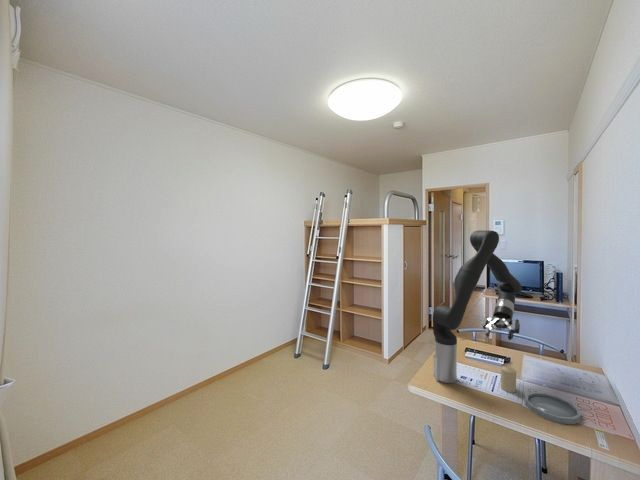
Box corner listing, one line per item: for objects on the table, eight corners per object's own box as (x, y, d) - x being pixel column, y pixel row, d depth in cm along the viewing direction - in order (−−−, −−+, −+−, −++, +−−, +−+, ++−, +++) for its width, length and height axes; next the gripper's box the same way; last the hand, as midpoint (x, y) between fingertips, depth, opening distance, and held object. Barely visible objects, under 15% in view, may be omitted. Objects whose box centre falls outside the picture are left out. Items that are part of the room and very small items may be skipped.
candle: (516, 394, 118) (516, 370, 118) (500, 390, 121) (501, 367, 121) (515, 387, 123) (516, 365, 123) (500, 384, 126) (500, 362, 126)
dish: (542, 422, 101) (542, 416, 101) (517, 395, 117) (517, 391, 117) (592, 425, 99) (592, 420, 99) (560, 398, 115) (560, 393, 115)
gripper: (485, 303, 140) (478, 328, 130) (520, 306, 129) (515, 333, 120) (489, 314, 142) (482, 340, 132) (523, 318, 132) (519, 345, 122)
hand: (498, 337), depth 126 cm, fingers open, 8 cm apart
